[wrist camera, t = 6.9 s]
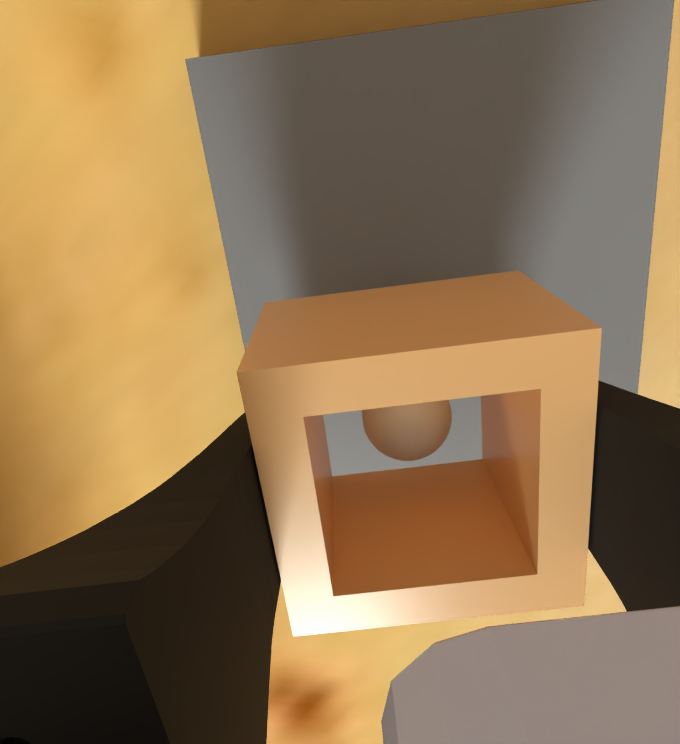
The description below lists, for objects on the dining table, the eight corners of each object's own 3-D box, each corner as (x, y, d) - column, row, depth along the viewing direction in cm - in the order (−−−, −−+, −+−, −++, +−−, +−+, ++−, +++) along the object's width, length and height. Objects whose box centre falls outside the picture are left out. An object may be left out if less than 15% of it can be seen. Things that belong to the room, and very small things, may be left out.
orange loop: (518, 484, 14) (584, 605, 11) (302, 509, 14) (293, 636, 11) (518, 270, 12) (601, 327, 8) (264, 302, 12) (237, 372, 9)
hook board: (608, 430, 18) (724, 551, 13) (279, 469, 19) (258, 602, 13) (639, 4, 14) (841, -83, 8) (199, 67, 14) (117, 21, 9)
